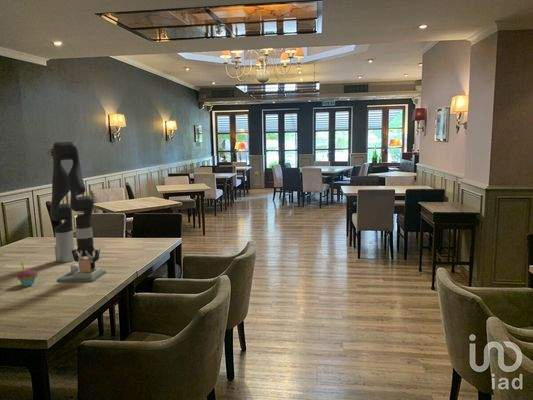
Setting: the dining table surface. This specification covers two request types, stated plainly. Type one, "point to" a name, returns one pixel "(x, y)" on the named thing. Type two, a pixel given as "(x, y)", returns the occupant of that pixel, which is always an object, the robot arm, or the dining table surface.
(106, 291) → the dining table surface
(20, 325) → the dining table surface
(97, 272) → the base board
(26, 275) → the cupcake
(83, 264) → the block
